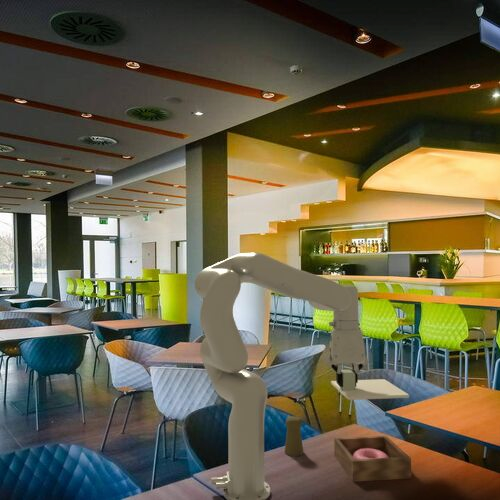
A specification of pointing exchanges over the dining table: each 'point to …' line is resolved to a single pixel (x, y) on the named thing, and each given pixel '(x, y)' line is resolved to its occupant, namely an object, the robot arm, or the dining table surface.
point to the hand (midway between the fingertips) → (347, 385)
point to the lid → (367, 388)
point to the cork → (293, 437)
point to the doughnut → (369, 454)
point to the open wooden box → (372, 468)
